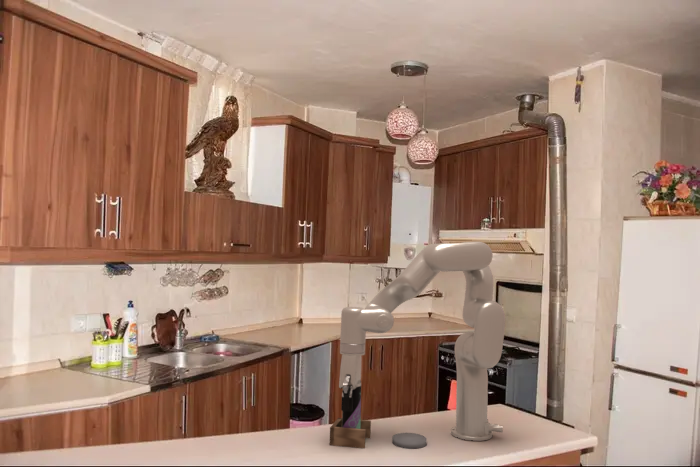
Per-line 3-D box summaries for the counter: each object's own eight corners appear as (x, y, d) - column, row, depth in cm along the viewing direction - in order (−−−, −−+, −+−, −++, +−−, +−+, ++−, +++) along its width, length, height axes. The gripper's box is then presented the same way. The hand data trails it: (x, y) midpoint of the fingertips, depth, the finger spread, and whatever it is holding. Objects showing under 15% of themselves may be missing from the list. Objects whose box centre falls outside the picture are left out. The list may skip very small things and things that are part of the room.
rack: (370, 437, 170) (370, 420, 171) (364, 448, 160) (364, 430, 160) (337, 434, 172) (338, 417, 173) (329, 445, 162) (330, 427, 162)
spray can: (344, 444, 163) (345, 375, 164) (339, 438, 168) (341, 371, 169) (362, 443, 164) (363, 374, 165) (357, 437, 170) (358, 370, 171)
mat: (427, 439, 170) (427, 434, 170) (425, 450, 160) (425, 444, 160) (394, 436, 172) (394, 431, 172) (390, 446, 162) (390, 441, 162)
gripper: (346, 344, 177) (344, 399, 176) (333, 352, 160) (331, 413, 159) (369, 345, 175) (367, 401, 174) (359, 354, 158) (357, 415, 157)
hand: (350, 406), depth 167 cm, fingers open, 9 cm apart
